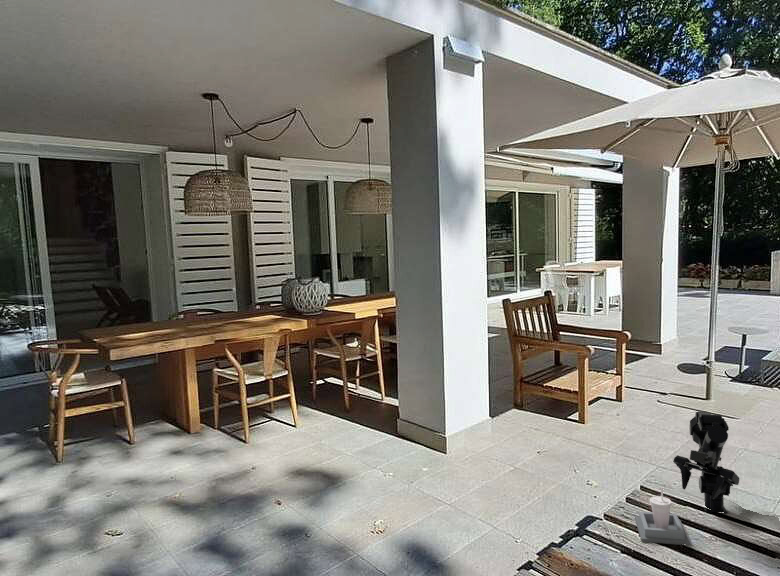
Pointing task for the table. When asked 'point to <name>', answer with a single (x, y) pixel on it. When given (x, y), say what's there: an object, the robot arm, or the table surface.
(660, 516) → the smoothie
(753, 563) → the table surface
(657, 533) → the holder
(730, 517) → the table surface
